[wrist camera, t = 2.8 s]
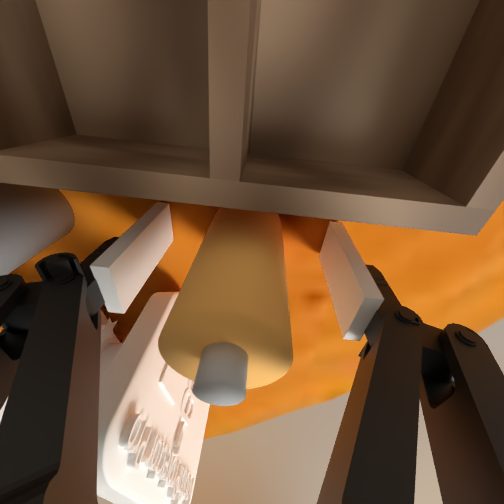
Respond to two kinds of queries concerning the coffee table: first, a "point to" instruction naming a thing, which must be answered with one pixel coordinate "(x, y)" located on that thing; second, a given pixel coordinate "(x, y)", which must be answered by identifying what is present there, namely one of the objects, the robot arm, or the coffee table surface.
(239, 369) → the yellow knobbed cylinder
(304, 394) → the coffee table surface
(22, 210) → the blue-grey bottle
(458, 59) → the brown compartment tray
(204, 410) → the cable organizer
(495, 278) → the coffee table surface
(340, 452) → the robot arm
